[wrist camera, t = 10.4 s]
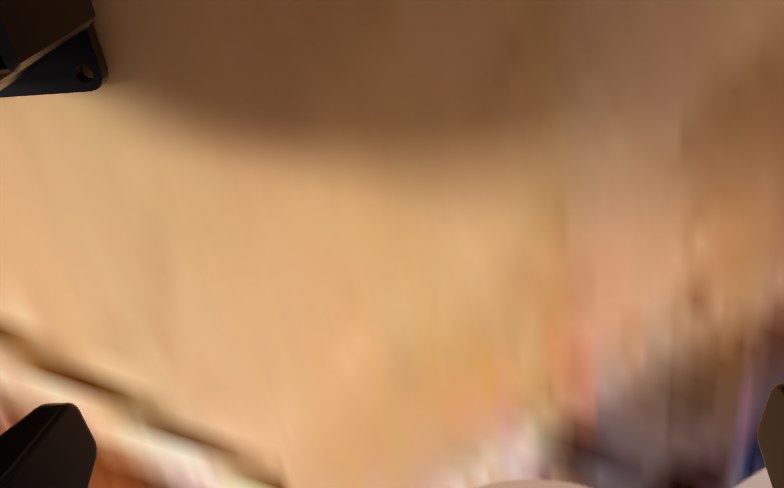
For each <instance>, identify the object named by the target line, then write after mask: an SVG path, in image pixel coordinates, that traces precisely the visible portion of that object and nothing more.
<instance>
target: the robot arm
mask: <svg viewBox="0 0 784 488" xmlns="http://www.w3.org/2000/svg"><path fill="white" fill-rule="evenodd" d="M94 17H95V12H94V9H93V6H92V3H91V0H0V97H14V96H29V95H43V94H58V93H73V92H88V91H93V90H97V89H98V88H99V87H100V86H101V85H103V84H104V83H105V82H106V81H107V78H108V68H107V65H106V62H105V59H104V56H103V53H102V50H101V47H100V44H99V41H98V38H97V35H96V32H95V29H94V26H93V23H92V21H93V19H94ZM81 65H84V66H87V67H88V68H90V69H91V70H92V72H93V75H94V78H90V77H88V76H86V75H85V74H84V73H83V71H82V67H81ZM757 435H758V443H759V447H760V450H761V453H762V457H763V460H764V463H765V466H766V469H767V472H768V474H769V477H770V481H771V484H772V487H773V488H784V383H780V384H776V385H775V386H774V387H773V388H772V389H771V391H770V394H769V397H768V400H767V402H766V405H765V408H764V411H763V414H762V417H761V420H760V423H759V426H758V432H757ZM96 456H97V447H96V442H95V440H94V438H93V436H92V434H91V432H90V430H89V428H88V426H87V424H86V422H85V420H84V418H83V416H82V414H81V412H80V410H79V409H78V407H77V406H75V405H74V404H72V403H47V404H43V405H40V406H39V407H37V408H36V409H34V410H33V411H32V412H30V413H29V414H28V415H26V416H25V417H24V418H22V419H21V420H20V421H18V422H17V423H16V424H14V425H13V426H12V427H10V428H9V429H8V430H7V431H5V432H4V433H3V434H1V435H0V488H88V487H89V483H90V479H91V476H92V472H93V469H94V465H95V461H96Z"/></svg>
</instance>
